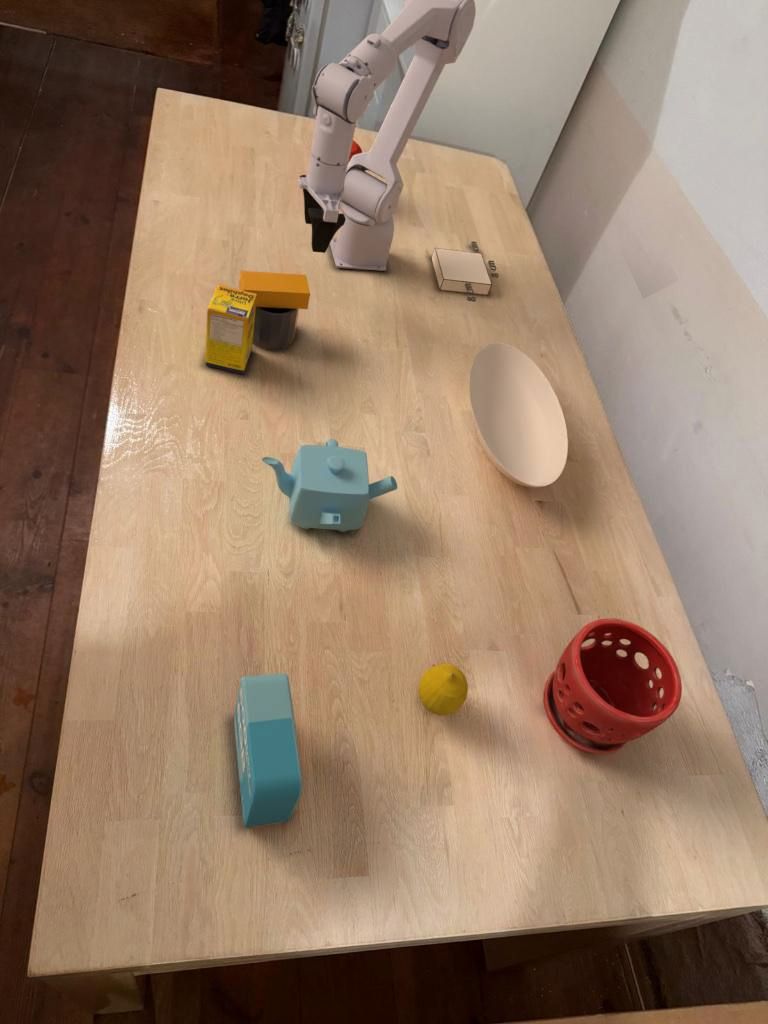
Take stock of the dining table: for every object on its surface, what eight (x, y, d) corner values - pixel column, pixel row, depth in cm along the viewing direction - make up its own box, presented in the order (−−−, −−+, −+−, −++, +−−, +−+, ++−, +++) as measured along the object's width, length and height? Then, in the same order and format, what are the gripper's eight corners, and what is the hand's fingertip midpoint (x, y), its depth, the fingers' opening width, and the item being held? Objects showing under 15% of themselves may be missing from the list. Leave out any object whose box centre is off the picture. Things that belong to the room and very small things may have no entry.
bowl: (447, 364, 125) (458, 336, 120) (530, 375, 128) (544, 348, 123) (472, 507, 107) (486, 481, 102) (567, 515, 110) (585, 490, 106)
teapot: (384, 479, 107) (400, 432, 99) (390, 561, 98) (409, 517, 90) (257, 467, 103) (264, 417, 95) (253, 552, 94) (260, 505, 87)
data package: (233, 717, 81) (241, 671, 72) (274, 712, 83) (287, 666, 73) (243, 831, 75) (254, 797, 65) (288, 824, 76) (304, 790, 67)
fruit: (453, 730, 86) (475, 704, 80) (407, 718, 86) (426, 691, 80) (458, 687, 90) (480, 658, 83) (414, 675, 89) (432, 645, 83)
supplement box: (251, 349, 116) (258, 292, 108) (243, 375, 113) (249, 318, 104) (214, 340, 116) (217, 282, 107) (204, 366, 112) (207, 308, 103)
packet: (303, 290, 117) (306, 274, 114) (307, 309, 114) (310, 293, 112) (239, 287, 114) (240, 270, 112) (241, 306, 111) (243, 289, 109)
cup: (290, 318, 123) (296, 283, 117) (297, 350, 119) (302, 315, 113) (242, 316, 121) (246, 280, 115) (247, 349, 116) (251, 313, 111)
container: (426, 241, 145) (430, 229, 143) (481, 248, 148) (485, 236, 146) (444, 309, 134) (448, 297, 132) (503, 315, 137) (508, 303, 135)
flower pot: (651, 749, 90) (706, 711, 81) (558, 772, 86) (605, 736, 77) (604, 652, 97) (650, 607, 88) (517, 669, 93) (555, 624, 84)
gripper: (296, 127, 113) (284, 208, 123) (310, 179, 104) (296, 262, 115) (341, 133, 115) (326, 213, 125) (358, 184, 107) (341, 265, 117)
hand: (315, 236), depth 120 cm, fingers open, 7 cm apart
